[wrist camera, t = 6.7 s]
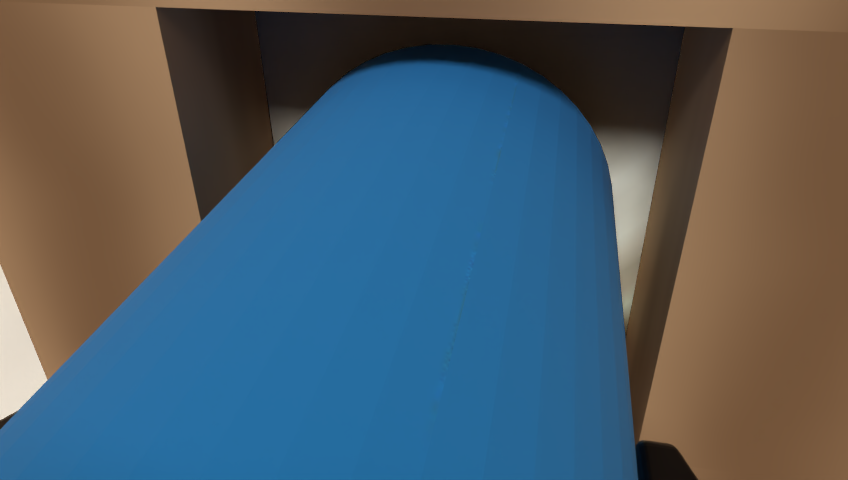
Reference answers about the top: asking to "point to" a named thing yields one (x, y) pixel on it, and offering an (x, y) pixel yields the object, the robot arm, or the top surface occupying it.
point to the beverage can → (371, 304)
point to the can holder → (584, 3)
